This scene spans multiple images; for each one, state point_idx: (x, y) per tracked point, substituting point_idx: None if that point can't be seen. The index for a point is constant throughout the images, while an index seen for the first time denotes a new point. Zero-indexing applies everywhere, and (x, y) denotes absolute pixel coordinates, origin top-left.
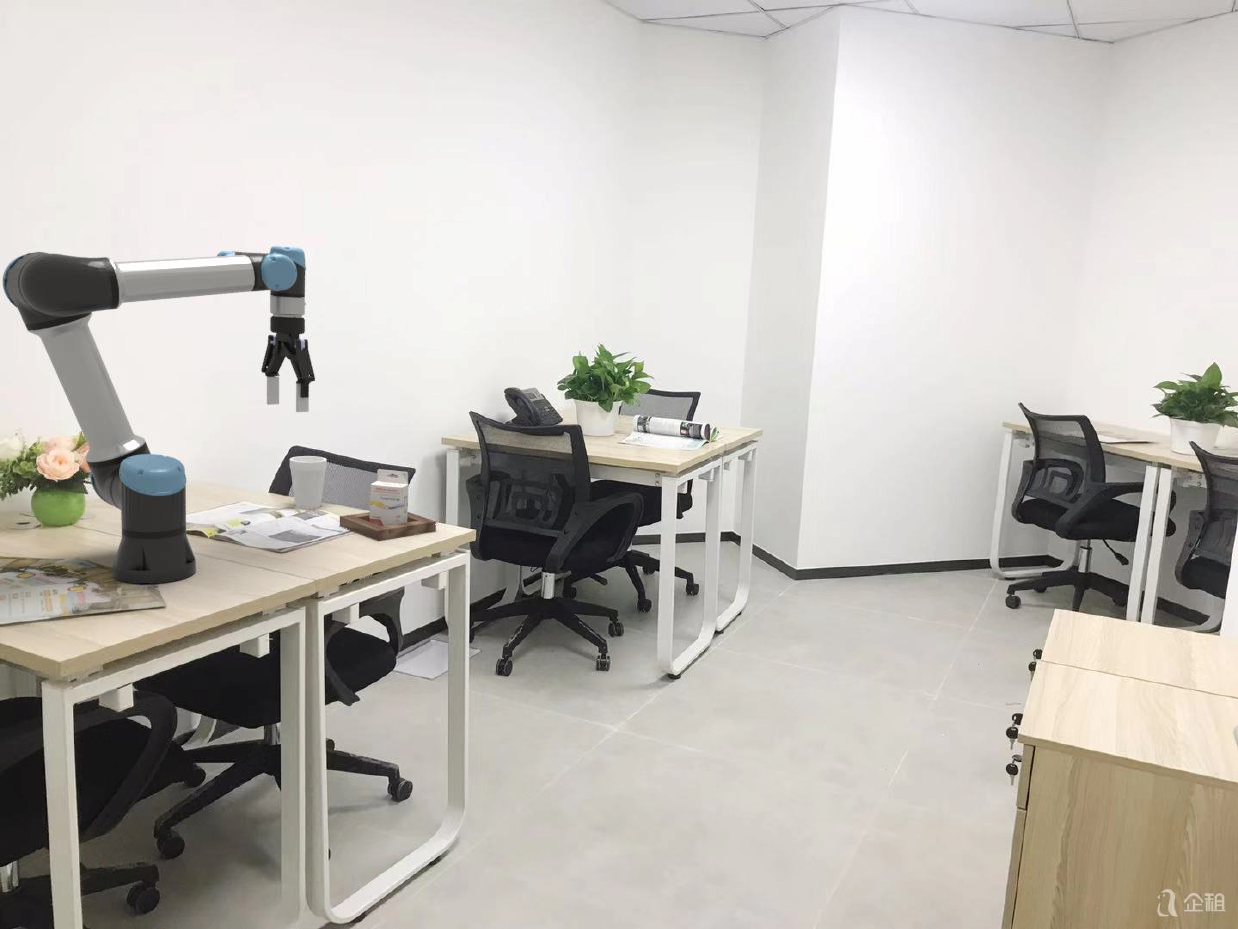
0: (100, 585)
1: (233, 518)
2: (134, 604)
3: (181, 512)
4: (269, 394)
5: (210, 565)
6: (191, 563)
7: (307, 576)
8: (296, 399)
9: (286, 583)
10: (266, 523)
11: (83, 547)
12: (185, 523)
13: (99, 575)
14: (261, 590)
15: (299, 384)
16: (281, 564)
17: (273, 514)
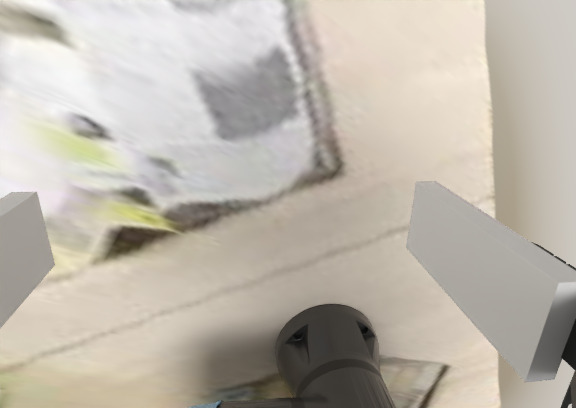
0: None
1: (32, 133)
2: (417, 384)
3: (390, 399)
4: (13, 299)
5: (335, 283)
6: (369, 327)
7: (471, 198)
8: (448, 288)
9: None
10: (111, 91)
11: (148, 384)
12: (371, 373)
13: None
14: None
15: (552, 359)
16: (396, 202)
17: (21, 30)
